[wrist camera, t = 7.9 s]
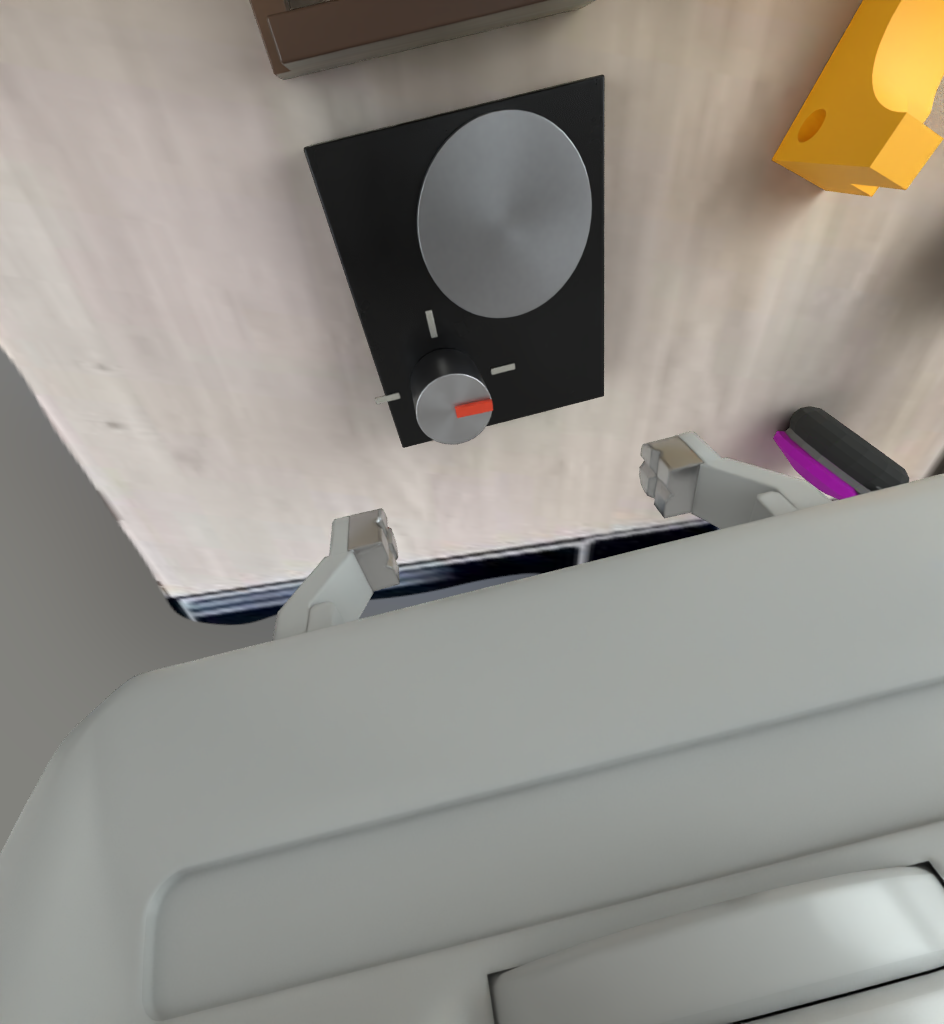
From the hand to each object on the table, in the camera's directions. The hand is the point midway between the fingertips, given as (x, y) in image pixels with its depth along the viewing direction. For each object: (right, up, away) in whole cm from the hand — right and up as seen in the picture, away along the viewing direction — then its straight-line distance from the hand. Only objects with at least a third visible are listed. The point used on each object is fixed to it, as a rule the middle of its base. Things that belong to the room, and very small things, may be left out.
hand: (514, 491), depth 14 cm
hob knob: (-3, +7, +12) cm, 14 cm away
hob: (-1, +12, +12) cm, 17 cm away
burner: (0, +13, +8) cm, 15 cm away
